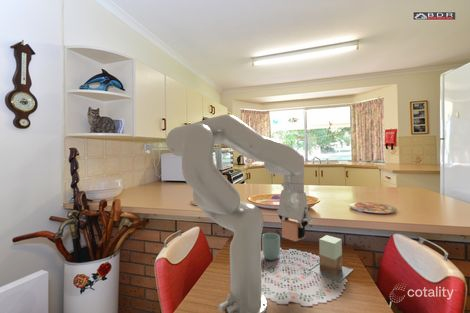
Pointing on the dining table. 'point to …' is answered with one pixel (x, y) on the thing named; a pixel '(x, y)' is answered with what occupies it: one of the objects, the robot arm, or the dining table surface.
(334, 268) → the walnut brick
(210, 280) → the dining table surface
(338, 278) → the plate
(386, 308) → the dining table surface
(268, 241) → the cup
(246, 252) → the robot arm
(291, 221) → the terracotta brick
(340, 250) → the sage brick
